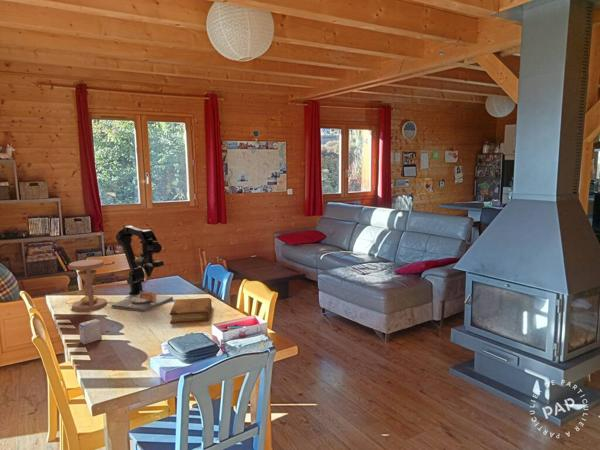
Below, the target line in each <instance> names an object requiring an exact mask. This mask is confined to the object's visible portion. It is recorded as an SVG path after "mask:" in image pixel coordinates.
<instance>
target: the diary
mask: <svg viewBox="0 0 600 450" xmlns="http://www.w3.org/2000/svg"><path fill="white" fill-rule="evenodd" d="M212 304H213V303H212V299H211V298H210V297H200V298H181V299H175V302H174V304H173V305H172V307H171V310H170V312H169V316H171V320H170V323H169V324H170V325H172V324H173V325H175V324H176V325H177V324H189V323H204V322H208V321H209V320H210V317H211V316H210V315H211V311H212V306H213V305H212Z"/></svg>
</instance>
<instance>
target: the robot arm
mask: <svg viewBox="0 0 600 450" xmlns="http://www.w3.org/2000/svg"><path fill="white" fill-rule="evenodd" d="M153 231H154V230H152V229H142V228H139V227H137V226H136V227H135V226H133V225H125V226H124V227H123V228H122V229H121V230H119V231H118V232H117V233H116V234H115V240H116V241H117V243H118V245H119V246H120V247H122V249H123V253H124V255H125V258H126V261H127V263H128V267H129V271H128V277H127V279H126V283H127V285H129V286H130V287H129V288H130V289H129V290H130V291H129V292H128V293H129V294H134V295H138V294H140V291H144V290H143V283H144V282H145V277H146V276H147V278H151V276H152V273H153V271H154V269H155V268H160V267H163V266H165V262H164V261H163V260H155V258H154V254H159V253H160V252H161V251H162V249H163V248H162V245H161V244H160V243H159V241H158V239H157V237H156V235H155V233H154V232H153ZM133 236H136V237H138V239H139V240H140V242H139V243H140V244H141V251H142V252H141V253H140V256H139V257H138V258H136V256H135V253H134V250H133V248H132V240H133V239H132V237H133Z"/></svg>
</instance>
